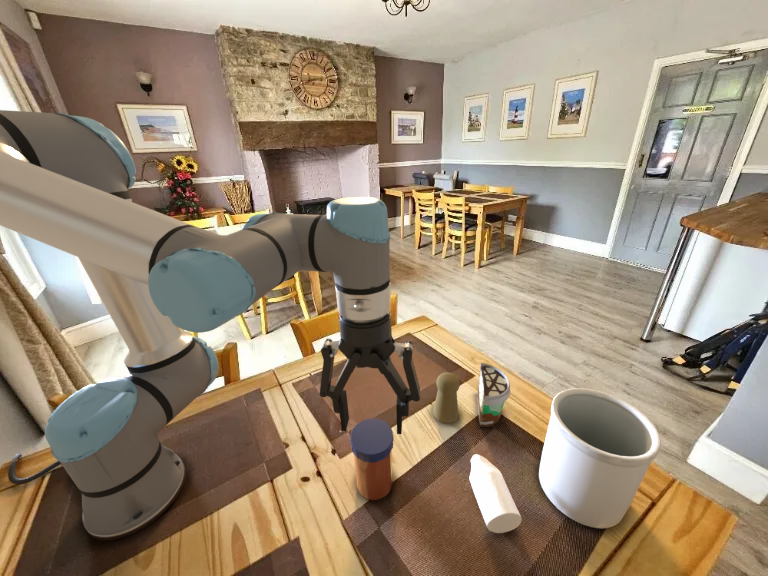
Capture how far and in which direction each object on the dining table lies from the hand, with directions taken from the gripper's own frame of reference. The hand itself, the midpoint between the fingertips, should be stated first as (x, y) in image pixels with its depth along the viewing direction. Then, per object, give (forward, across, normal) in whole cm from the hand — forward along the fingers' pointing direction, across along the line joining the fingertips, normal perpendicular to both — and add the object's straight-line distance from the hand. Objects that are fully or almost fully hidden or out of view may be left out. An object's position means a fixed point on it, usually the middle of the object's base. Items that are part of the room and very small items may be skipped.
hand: (372, 425), depth 53 cm
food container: (+15, +26, +19) cm, 35 cm away
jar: (+15, 0, 0) cm, 15 cm away
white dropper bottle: (+15, +21, -1) cm, 26 cm away
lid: (+3, 0, 0) cm, 3 cm away
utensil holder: (+16, +38, +2) cm, 41 cm away
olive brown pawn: (+15, +15, +18) cm, 28 cm away
